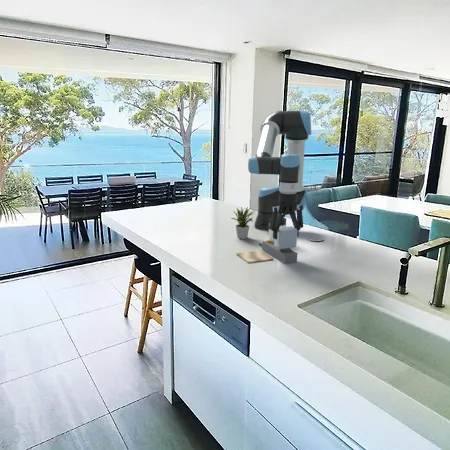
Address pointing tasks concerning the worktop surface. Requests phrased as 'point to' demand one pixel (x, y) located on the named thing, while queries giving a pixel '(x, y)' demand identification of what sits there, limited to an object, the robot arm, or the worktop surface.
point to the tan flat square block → (254, 256)
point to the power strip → (278, 252)
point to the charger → (287, 238)
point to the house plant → (242, 223)
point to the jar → (279, 227)
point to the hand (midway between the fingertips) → (285, 244)
